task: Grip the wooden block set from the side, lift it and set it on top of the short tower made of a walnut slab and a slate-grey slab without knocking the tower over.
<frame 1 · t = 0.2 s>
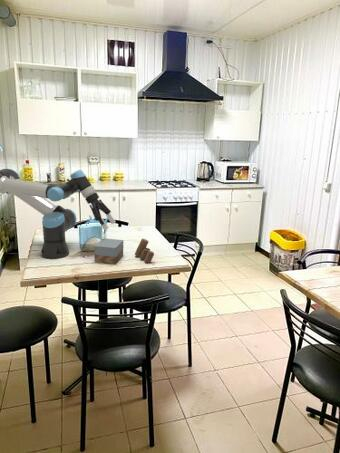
hand: (110, 226, 201), 15 cm above the table, tool tilted 35°, fingers open, 13 cm apart
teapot: (97, 232, 241), on the table
tower base: (109, 259, 192), on the table, touching tower top
tower top: (109, 251, 191), point 5 cm above the table, touching tower base
wooden block set: (143, 258, 196), on the table
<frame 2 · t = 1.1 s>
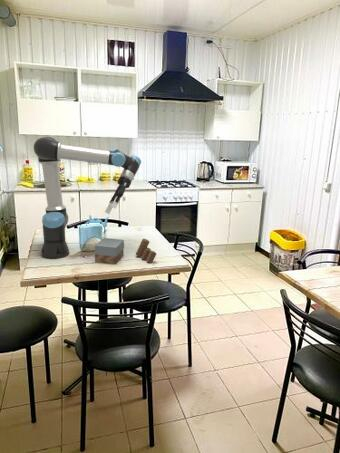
hand: (110, 210, 192), 26 cm above the table, tool tilted 40°, fingers open, 13 cm apart
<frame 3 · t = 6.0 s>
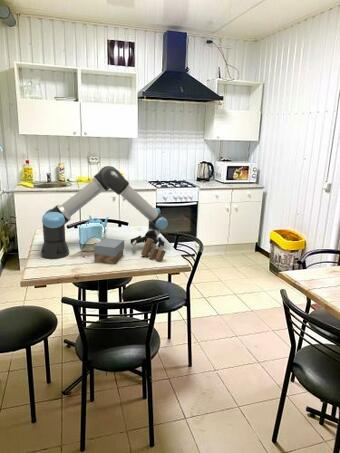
hand: (144, 246, 196), 6 cm above the table, tool horizontal, fingers open, 13 cm apart
wooden block set: (150, 257, 198), on the table
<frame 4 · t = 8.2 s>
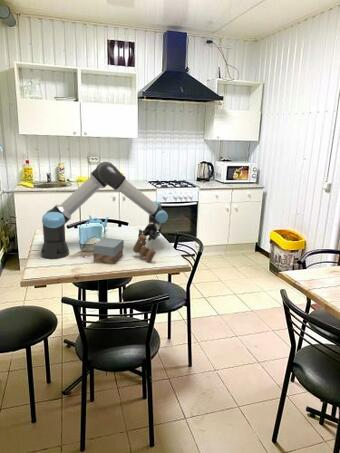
hand: (143, 240, 192), 11 cm above the table, tool horizontal, fingers closed on wooden block set, 2 cm apart
wooden block set: (142, 253, 196), point 2 cm above the table, touching gripper
everything else where it was.
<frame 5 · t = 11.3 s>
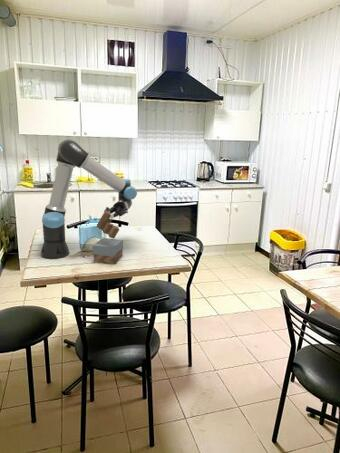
hand: (108, 216, 184), 25 cm above the table, tool horizontal, fingers closed on wooden block set, 2 cm apart
wooden block set: (106, 230, 189), point 16 cm above the table, touching gripper
everything else where it was.
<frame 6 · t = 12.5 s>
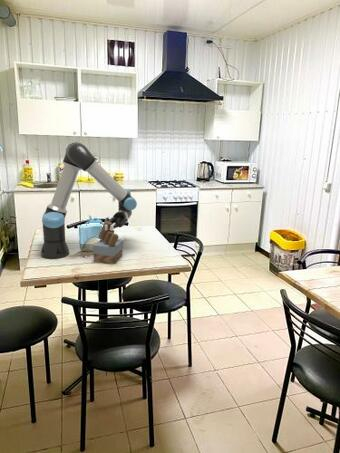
hand: (108, 228, 186), 18 cm above the table, tool horizontal, fingers open, 2 cm apart
tower top: (108, 250, 191), point 5 cm above the table, touching tower base, wooden block set
wooden block set: (108, 241, 191), point 10 cm above the table, touching gripper, tower top
everything else where it was.
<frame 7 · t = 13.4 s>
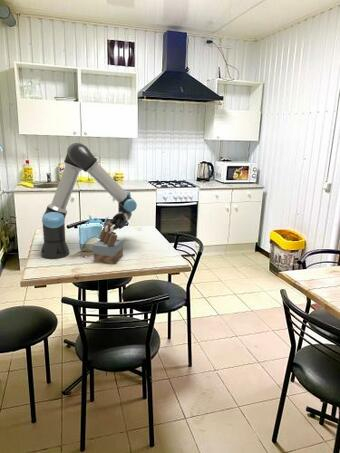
hand: (108, 229, 186), 18 cm above the table, tool horizontal, fingers open, 2 cm apart
wooden block set: (108, 242, 191), point 9 cm above the table, touching tower top
everything else where it was.
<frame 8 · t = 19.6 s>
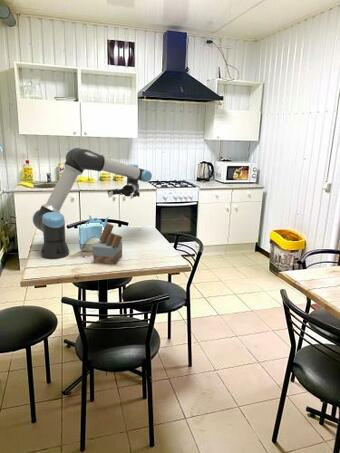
hand: (120, 195, 204), 32 cm above the table, tool horizontal, fingers open, 13 cm apart
tower top: (107, 251, 190), point 4 cm above the table, touching tower base, wooden block set
wooden block set: (109, 243, 190), point 9 cm above the table, touching tower top
at the end: wooden block set inside the target area on the tower top (1.3 cm from its centre), point 4.8 cm above the tower top's base; tower top 0.3 cm off-centre on the tower base, point 5.0 cm above the tower base's base; the gripper is holding nothing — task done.
